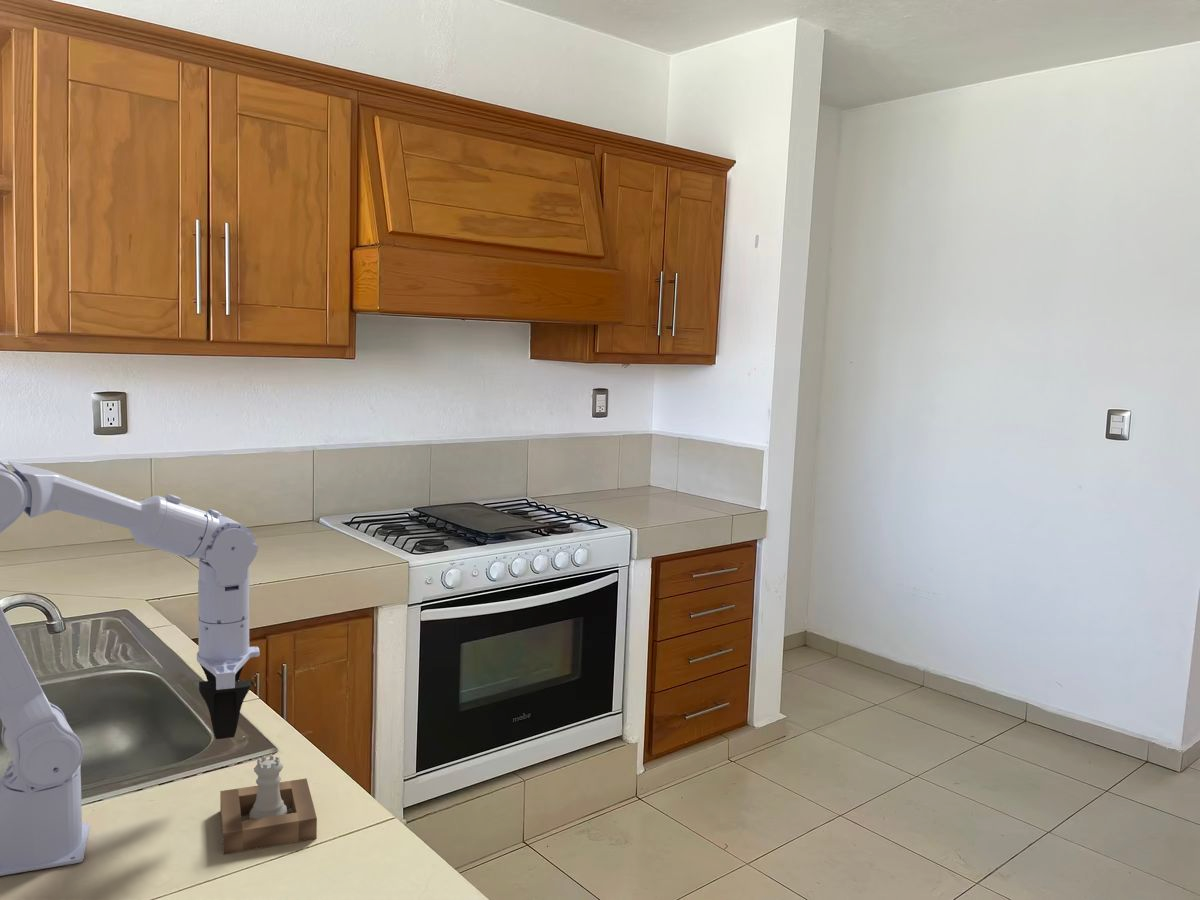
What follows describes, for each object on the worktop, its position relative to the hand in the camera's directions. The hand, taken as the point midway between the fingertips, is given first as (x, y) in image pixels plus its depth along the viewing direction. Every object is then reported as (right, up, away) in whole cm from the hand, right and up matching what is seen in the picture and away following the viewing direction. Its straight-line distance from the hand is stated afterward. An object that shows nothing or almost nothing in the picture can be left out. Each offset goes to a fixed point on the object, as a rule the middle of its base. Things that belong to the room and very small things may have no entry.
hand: (224, 724), depth 113 cm
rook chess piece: (+7, -11, -4) cm, 13 cm away
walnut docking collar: (+7, -11, -4) cm, 13 cm away
